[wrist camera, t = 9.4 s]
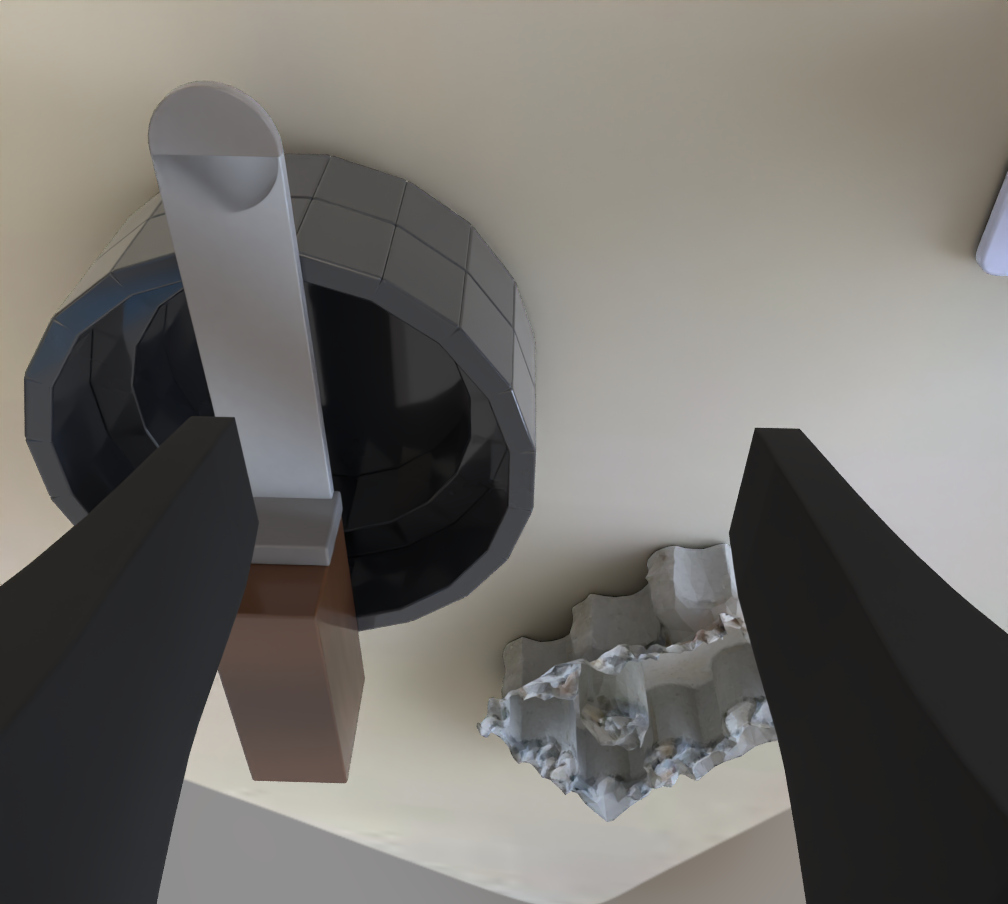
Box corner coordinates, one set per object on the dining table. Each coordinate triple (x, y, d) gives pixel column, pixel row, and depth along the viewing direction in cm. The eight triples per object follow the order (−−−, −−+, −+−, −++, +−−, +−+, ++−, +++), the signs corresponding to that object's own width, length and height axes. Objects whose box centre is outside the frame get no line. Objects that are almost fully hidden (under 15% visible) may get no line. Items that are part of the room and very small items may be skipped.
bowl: (542, 149, 20) (545, 256, 16) (527, 507, 27) (527, 639, 24) (49, 138, 20) (-62, 241, 17) (163, 498, 28) (104, 627, 24)
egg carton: (710, 511, 27) (734, 615, 24) (836, 628, 31) (871, 733, 28) (463, 655, 32) (457, 758, 29) (596, 742, 36) (603, 843, 33)
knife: (367, 677, 25) (349, 784, 22) (277, 674, 25) (249, 781, 23) (282, 81, 15) (233, 160, 12) (129, 77, 15) (48, 156, 12)
